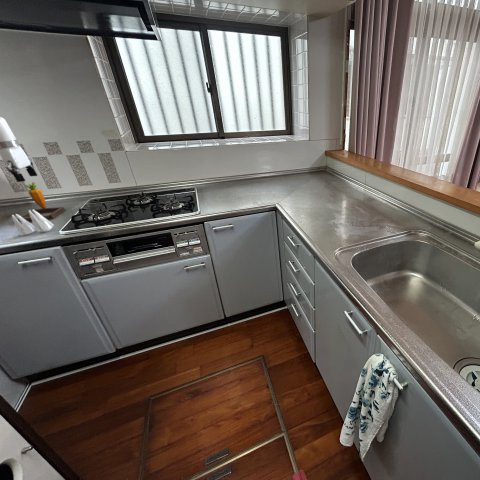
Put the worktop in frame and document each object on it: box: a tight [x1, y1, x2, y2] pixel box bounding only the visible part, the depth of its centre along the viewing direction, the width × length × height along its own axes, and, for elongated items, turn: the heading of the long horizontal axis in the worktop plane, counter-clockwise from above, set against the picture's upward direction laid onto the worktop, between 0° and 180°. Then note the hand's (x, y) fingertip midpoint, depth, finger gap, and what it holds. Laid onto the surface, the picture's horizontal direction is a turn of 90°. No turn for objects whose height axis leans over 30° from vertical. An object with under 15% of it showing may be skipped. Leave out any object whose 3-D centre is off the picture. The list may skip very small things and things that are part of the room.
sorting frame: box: [16, 206, 66, 223], centre depth 139 cm, size 14×12×2 cm
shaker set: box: [11, 209, 55, 237], centre depth 122 cm, size 12×4×11 cm, turn 107°
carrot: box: [24, 181, 47, 209], centre depth 144 cm, size 5×5×15 cm
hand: (28, 178), depth 139 cm, fingers open, 9 cm apart
